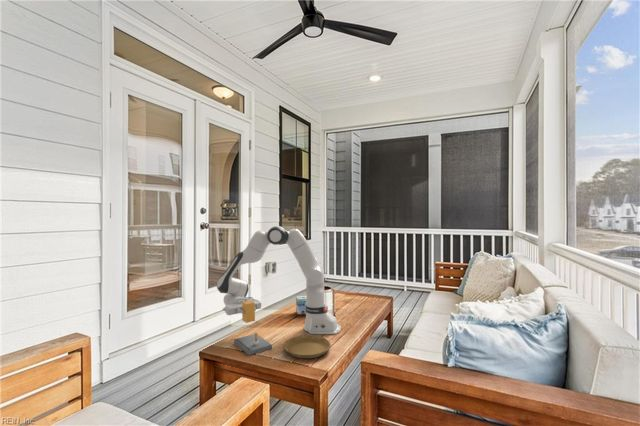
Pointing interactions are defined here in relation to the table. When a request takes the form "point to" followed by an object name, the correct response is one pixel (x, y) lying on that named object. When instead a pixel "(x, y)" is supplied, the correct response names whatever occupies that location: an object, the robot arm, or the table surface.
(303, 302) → the light bulb box
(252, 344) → the plate
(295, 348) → the plant saucer
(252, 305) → the tall orange brick
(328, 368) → the table surface
